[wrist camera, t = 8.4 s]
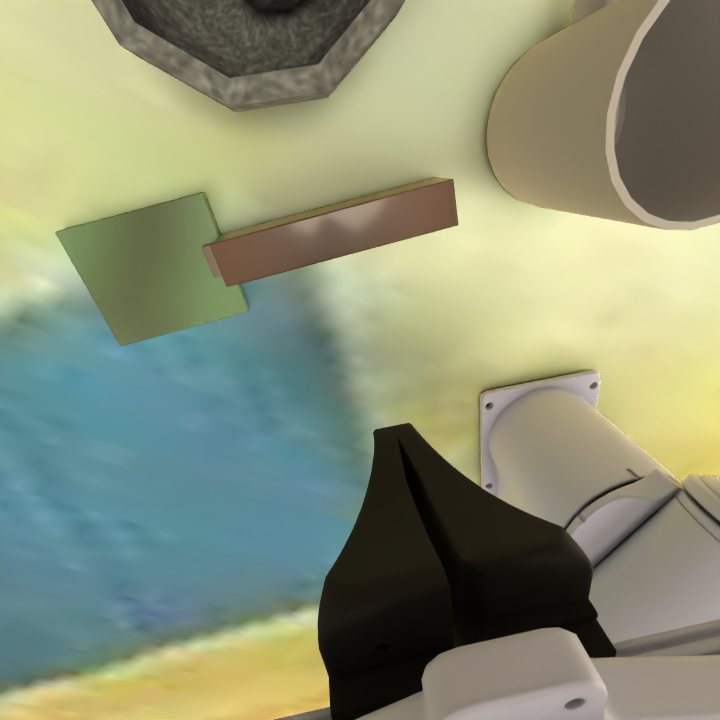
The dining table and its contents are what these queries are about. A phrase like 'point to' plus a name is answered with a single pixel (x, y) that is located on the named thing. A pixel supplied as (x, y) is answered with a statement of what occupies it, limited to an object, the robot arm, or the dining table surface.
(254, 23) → the mortar and pestle
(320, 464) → the dining table surface
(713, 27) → the cup
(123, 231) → the spatula
